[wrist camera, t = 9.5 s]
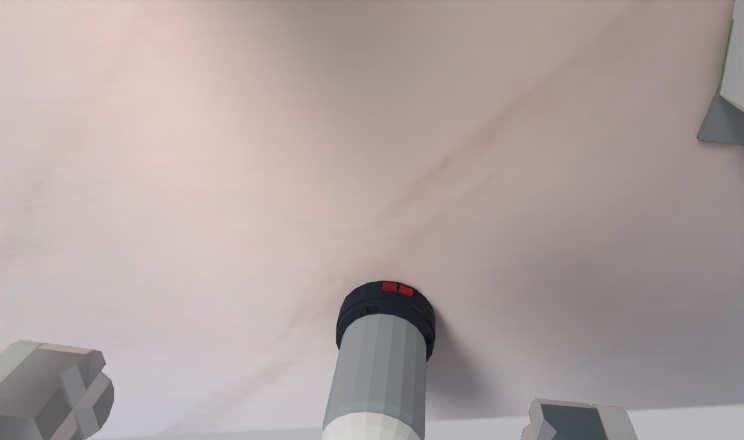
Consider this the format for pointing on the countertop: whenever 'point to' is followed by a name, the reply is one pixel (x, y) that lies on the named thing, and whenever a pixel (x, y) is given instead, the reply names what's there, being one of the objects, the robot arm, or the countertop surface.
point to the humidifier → (380, 364)
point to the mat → (723, 122)
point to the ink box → (734, 60)
